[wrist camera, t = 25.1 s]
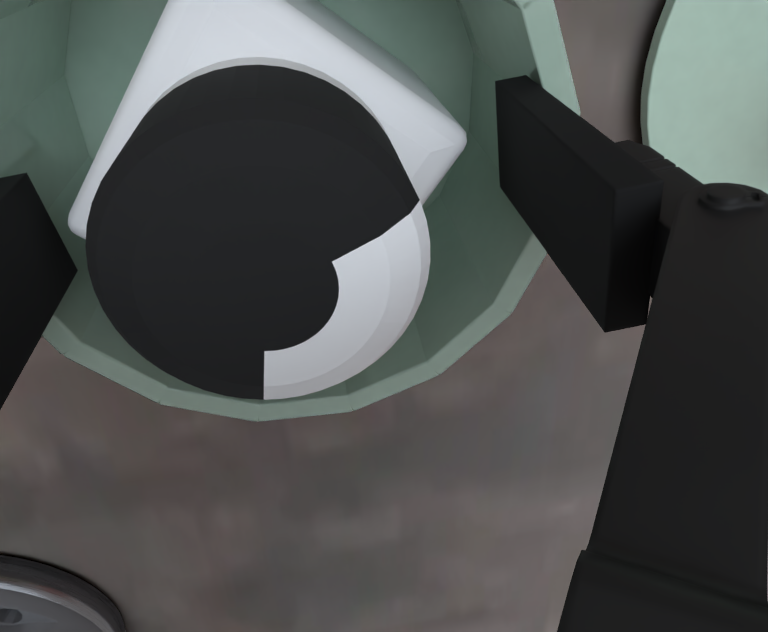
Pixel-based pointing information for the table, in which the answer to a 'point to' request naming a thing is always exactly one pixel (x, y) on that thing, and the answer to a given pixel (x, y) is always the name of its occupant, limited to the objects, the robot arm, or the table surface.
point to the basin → (442, 208)
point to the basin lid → (710, 90)
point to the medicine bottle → (264, 198)
